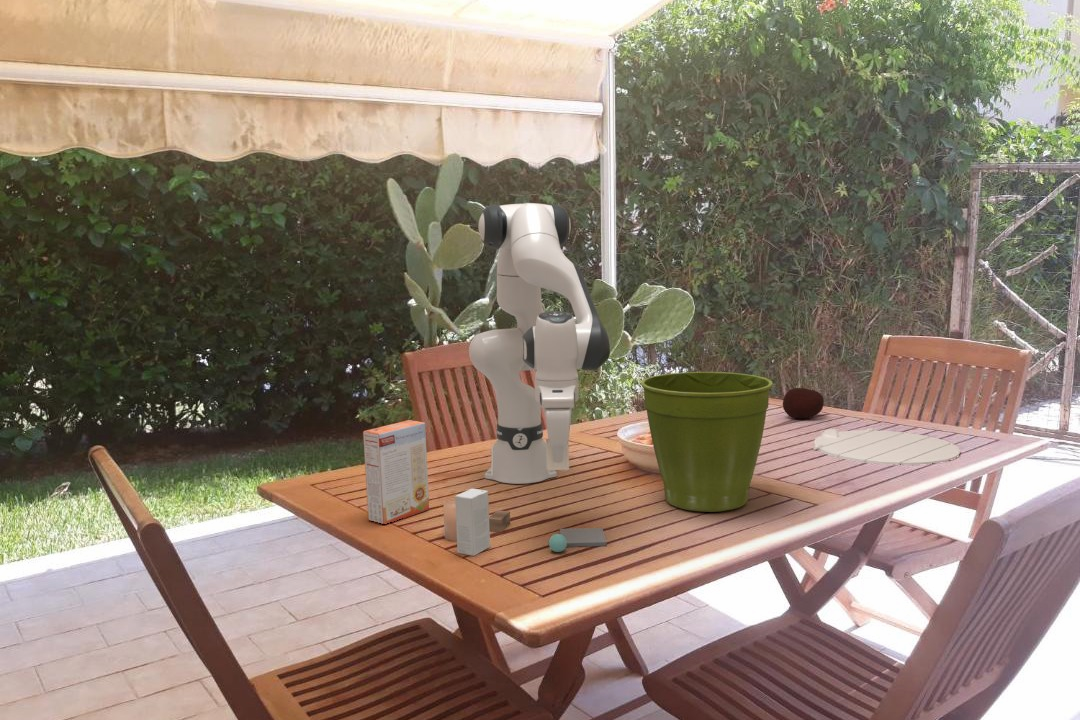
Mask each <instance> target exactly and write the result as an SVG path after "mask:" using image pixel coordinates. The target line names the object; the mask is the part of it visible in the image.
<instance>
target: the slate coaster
mask: <svg viewBox="0 0 1080 720" xmlns="http://www.w3.org/2000/svg"><path fill="white" fill-rule="evenodd" d="M559 534H561V535H563V536H564V537H565V538H566V540H567V546H566V548H574V547H575V548H581V546H587V547H606V546H607V540H606V537H605V532H604V530H603V527H584V528H582V527H581V528H559ZM605 545H606V546H605ZM579 546H580V547H579Z"/></svg>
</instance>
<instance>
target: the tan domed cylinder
mask: <svg viewBox="0 0 1080 720" xmlns="http://www.w3.org/2000/svg"><path fill="white" fill-rule="evenodd" d="M443 525H444V526H443V527H444V528H443V529H444V530H443V531H444V535H443V536H444V539H445V540H447V541H448V542H449V541H450V542H456V543H457V529H456V505H455V499H452V500H449V501H446V502H444V503H443Z"/></svg>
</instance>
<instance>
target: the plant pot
mask: <svg viewBox="0 0 1080 720" xmlns="http://www.w3.org/2000/svg"><path fill="white" fill-rule="evenodd" d="M640 385H641V387H642V388H643V400H644V408H645V409H646V413H647V414H646V416H647V420H648V427H649V430H650V437H651V441H652V447H653V449H654V455H655V458H656V462H657V466H658V468H659V469H658V470H659V472H660V477H661V479H662V484H663V487H664V499H665V501H666V502H667V503H668V504H670V505H672V506H674V507H676V508H678V509H682V510H686V511H693V512H694V511H695V512H707V513H708V512H709V513H712V512H713V513H714V512H715V513H716V512H717V513H718V512H727V511H731V510H736V509H738V508H741V507H742V506H744V505H746V503H748V501H749V493H750V492H749V490H750V489H749V488H750V485H751V482H752V479H753V475H754V471H755V468H756V464H757V461H758V456H759V453H760V449H761V444H762V440H763V435H764V429H765V423H766V416H767V409H768V408H769V401H770V398H769V397H770V389H771V388H772V387H773V381H772V380H771V379H769V378H766V377H763V376H761V375H760V376H759V375H755V374H748V373H747V374H746V373H737V372H727V371H726V372H723V371H690V372H687V371H686V372H685V371H684V372H675V373H673V372H671V373H664V374H663V373H662V374H657V375H653V376H649V377H646V378H644V379H642V380H641V382H640Z"/></svg>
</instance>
